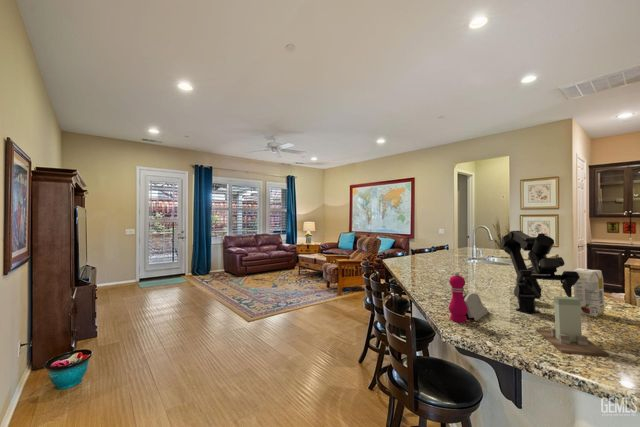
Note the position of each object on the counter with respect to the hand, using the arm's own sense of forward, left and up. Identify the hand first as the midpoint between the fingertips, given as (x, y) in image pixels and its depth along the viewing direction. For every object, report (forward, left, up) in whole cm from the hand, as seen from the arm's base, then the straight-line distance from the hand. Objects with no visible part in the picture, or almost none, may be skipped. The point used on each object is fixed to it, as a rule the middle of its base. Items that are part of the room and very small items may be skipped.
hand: (555, 297), depth 104 cm
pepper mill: (+19, -26, -13) cm, 35 cm away
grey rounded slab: (+8, -28, -13) cm, 32 cm away
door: (+5, +6, -12) cm, 15 cm away
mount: (+5, +6, -13) cm, 15 cm away
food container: (-32, -30, -13) cm, 46 cm away
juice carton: (-36, -6, -13) cm, 39 cm away
